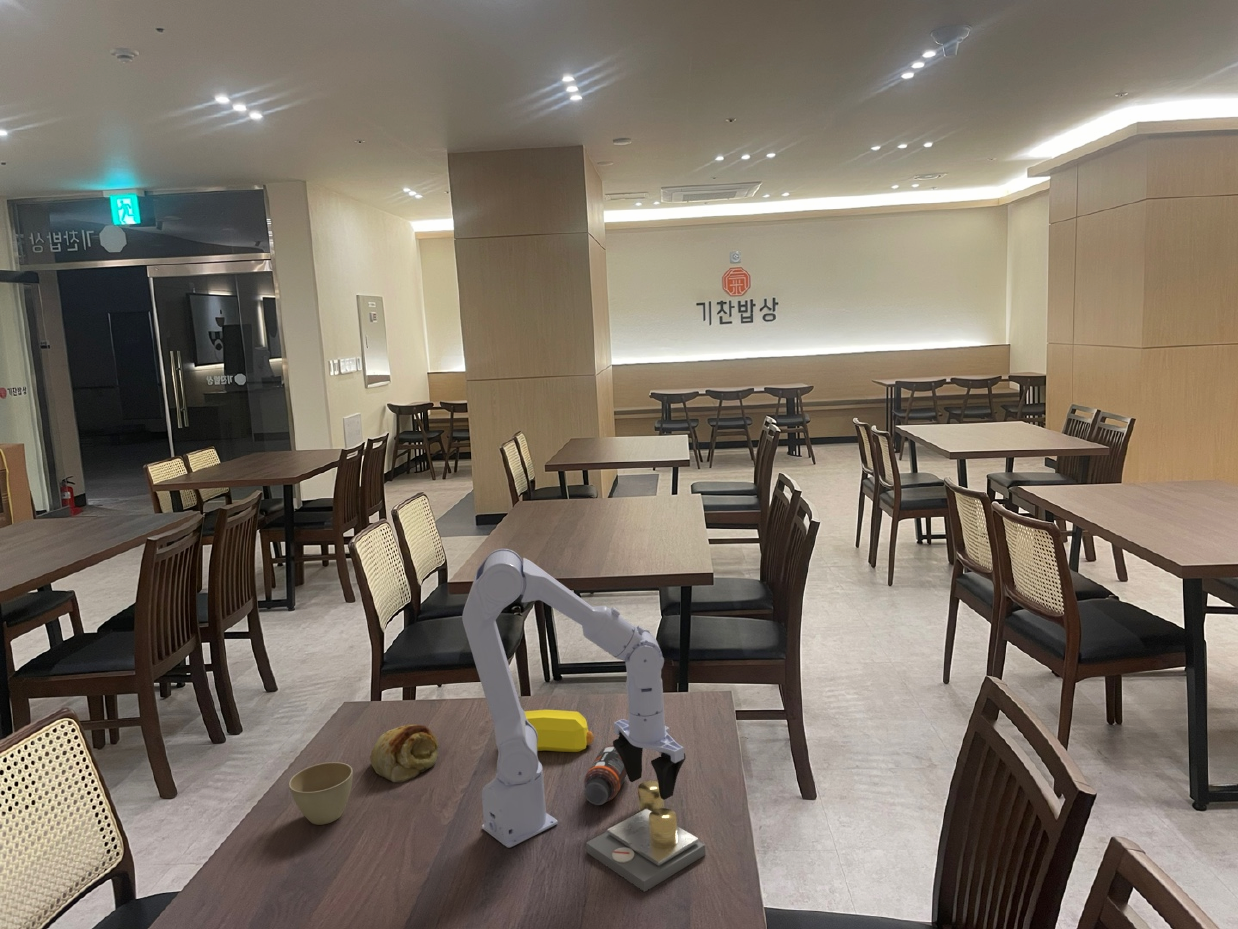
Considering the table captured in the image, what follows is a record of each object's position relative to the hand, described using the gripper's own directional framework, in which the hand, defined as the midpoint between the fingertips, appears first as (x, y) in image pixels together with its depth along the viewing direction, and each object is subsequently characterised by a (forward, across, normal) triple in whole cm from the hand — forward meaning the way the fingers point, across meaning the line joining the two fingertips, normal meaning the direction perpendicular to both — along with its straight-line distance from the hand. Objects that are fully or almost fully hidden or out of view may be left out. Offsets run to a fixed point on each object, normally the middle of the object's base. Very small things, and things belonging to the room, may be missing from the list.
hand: (650, 788), depth 140 cm
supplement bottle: (+1, +13, -3) cm, 13 cm away
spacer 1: (+4, 0, 0) cm, 4 cm away
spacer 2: (+1, -10, +7) cm, 13 cm away
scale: (+4, -8, +9) cm, 12 cm away
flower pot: (+4, +38, +39) cm, 54 cm away
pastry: (+4, +44, +21) cm, 49 cm away
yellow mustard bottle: (+4, +30, -1) cm, 31 cm away
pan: (+2, -8, +7) cm, 11 cm away
